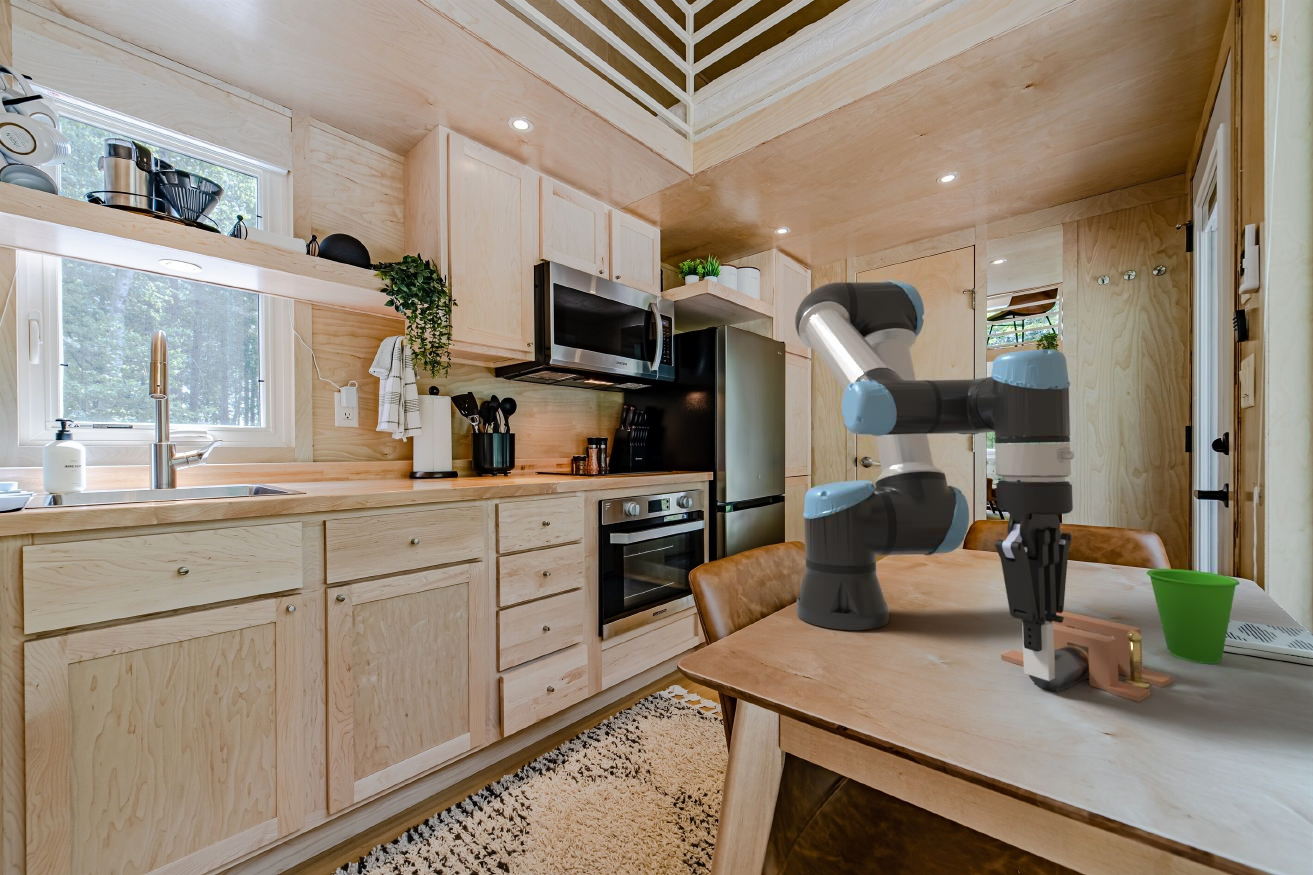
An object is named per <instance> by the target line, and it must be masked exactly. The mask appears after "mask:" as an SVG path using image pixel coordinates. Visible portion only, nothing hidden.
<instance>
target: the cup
mask: <svg viewBox="0 0 1313 875" xmlns="http://www.w3.org/2000/svg"><path fill="white" fill-rule="evenodd" d="M1146 574H1147V576H1149V577H1150V582H1151V587H1152V590H1153V594H1154V598H1155V599H1154V600H1155V603H1156V607H1157V611H1158V614H1159V615H1158V616H1159V620H1160V623H1161V626H1162V631H1163V635H1164V639H1165V644H1166V647H1167V648H1166V649H1167V650H1168V651H1169V653H1170V654H1171V655H1172V656H1173V657H1175V658H1179V659H1180V660H1185V661H1190V662H1194V663H1200V664H1208V665H1209V664H1211V665H1213V664H1218V663H1220V661H1221V660H1222V659H1223V655H1224V649H1225V643H1226V639H1227V633H1228V628H1229V622H1230V617H1231V612H1232V608H1233V607H1232V606H1233V601H1234V596H1235V591H1236V586H1238V585H1240V581H1239V580H1238V579H1236V578H1234V577H1230V576H1227V575H1224V574H1218V573H1213V572H1207V571H1199V570H1191V569H1181V568H1178V569H1177V568H1153V569H1148V570H1147V572H1146Z"/></svg>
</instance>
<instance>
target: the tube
mask: <svg viewBox="0 0 1313 875" xmlns="http://www.w3.org/2000/svg"><path fill="white" fill-rule="evenodd" d="M1099 634H1100V635H1104V636H1108V637H1111V636H1109V635H1105V634H1101V633H1099ZM1054 659H1055V678H1054V679H1052V680H1050V681H1047V680H1044V679H1041V678H1038V677H1035V676H1032V675H1029V674H1028V676H1029V679H1030V680H1031V681H1032V682H1033V683H1034V685H1036V686H1037V687H1039V688H1041V689H1043V690H1047V691H1055V692H1057V693H1059V692H1060V693H1061V691H1064V690H1066V689H1068V688H1070V687H1072V686H1075V685H1077V684H1079V683H1080V682H1084V681H1085V680H1087V679H1090V678H1089V650H1088V647H1085V646H1081V645H1077V644H1073V643H1072V644H1070V645H1067V646H1065V647H1062V648H1060V649H1057V650H1055V651H1054Z"/></svg>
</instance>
